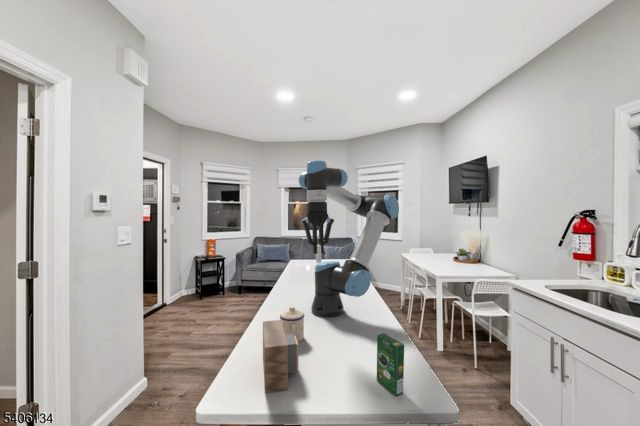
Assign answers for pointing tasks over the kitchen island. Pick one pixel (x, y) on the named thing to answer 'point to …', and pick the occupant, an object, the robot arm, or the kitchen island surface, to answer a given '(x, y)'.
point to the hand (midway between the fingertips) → (318, 261)
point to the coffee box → (390, 363)
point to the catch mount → (275, 356)
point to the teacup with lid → (293, 322)
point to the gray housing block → (292, 352)
